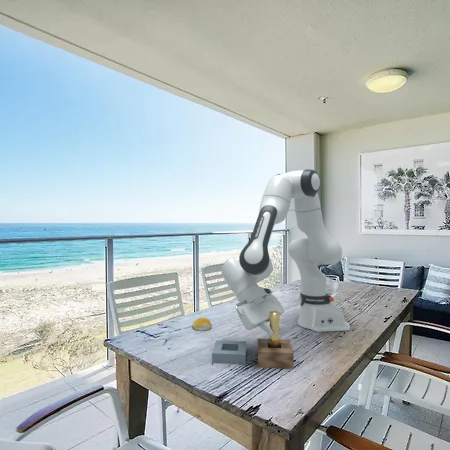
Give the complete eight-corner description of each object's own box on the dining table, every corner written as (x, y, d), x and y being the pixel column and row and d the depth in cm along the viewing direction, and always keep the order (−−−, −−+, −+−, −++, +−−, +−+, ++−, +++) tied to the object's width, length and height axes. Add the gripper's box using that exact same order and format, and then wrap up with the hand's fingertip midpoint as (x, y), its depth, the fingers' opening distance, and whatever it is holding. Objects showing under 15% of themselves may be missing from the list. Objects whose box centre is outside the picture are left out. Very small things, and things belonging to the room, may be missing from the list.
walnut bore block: (289, 356, 109) (289, 339, 109) (293, 372, 98) (293, 353, 98) (257, 355, 110) (257, 338, 110) (257, 370, 100) (258, 351, 99)
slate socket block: (246, 352, 113) (246, 341, 113) (245, 366, 102) (245, 354, 102) (216, 351, 114) (216, 340, 114) (211, 365, 103) (211, 353, 103)
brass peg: (278, 358, 106) (279, 311, 106) (279, 362, 103) (279, 314, 102) (269, 357, 106) (269, 310, 106) (269, 362, 103) (269, 313, 103)
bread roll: (209, 323, 144) (209, 315, 144) (212, 330, 136) (212, 321, 136) (191, 325, 143) (191, 316, 142) (193, 332, 134) (193, 322, 134)
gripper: (238, 299, 101) (264, 336, 94) (272, 288, 116) (296, 319, 110) (228, 310, 104) (252, 347, 97) (262, 298, 119) (285, 329, 113)
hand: (276, 332), depth 104 cm, fingers closed on brass peg, 3 cm apart
